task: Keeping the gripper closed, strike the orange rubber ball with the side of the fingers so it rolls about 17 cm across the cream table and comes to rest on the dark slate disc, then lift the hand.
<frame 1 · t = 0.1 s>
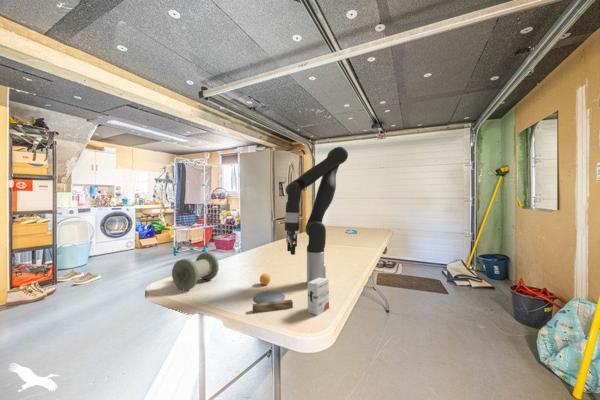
hand: (290, 252, 114), 17 cm above the table, tool pointing down, fingers open, 8 cm apart
spool: (196, 284, 117), on the table
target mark: (269, 297, 100), on the table
ball: (265, 279, 116), on the table
ink box: (318, 310, 89), on the table
brown square bar: (272, 309, 89), on the table
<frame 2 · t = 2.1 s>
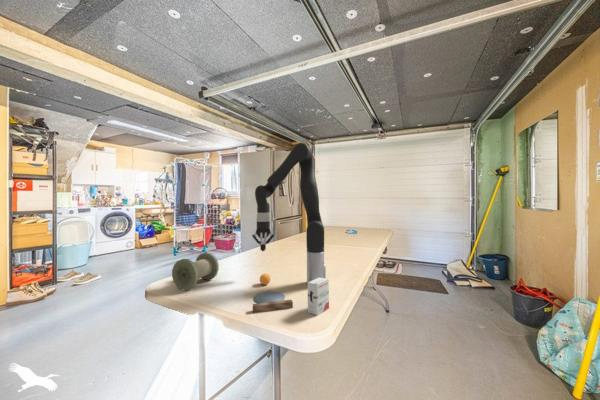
hand: (263, 250, 126), 16 cm above the table, tool pointing down, fingers closed
nothing on the table moved.
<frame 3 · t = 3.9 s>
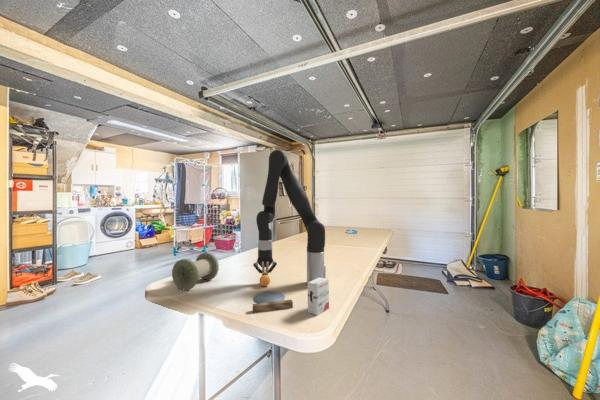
hand: (265, 280, 118), 1 cm above the table, tool pointing down, fingers closed
ball: (264, 280, 114), on the table, touching gripper
everything else where it was.
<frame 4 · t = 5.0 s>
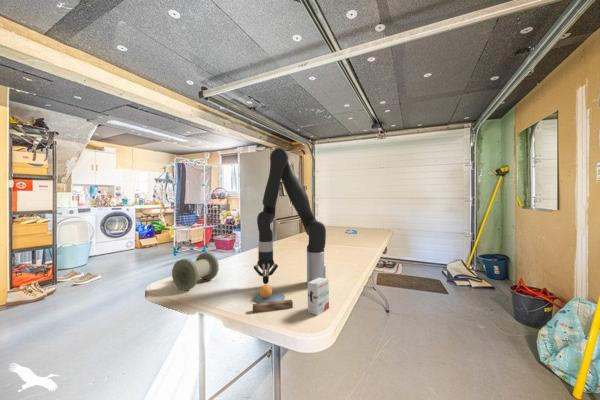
hand: (265, 283, 114), 1 cm above the table, tool pointing down, fingers closed
ball: (265, 291, 100), on the table
everything else where it was.
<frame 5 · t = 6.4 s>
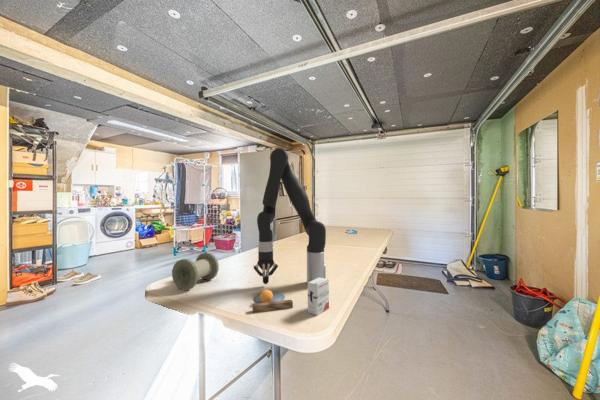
hand: (265, 283, 114), 1 cm above the table, tool pointing down, fingers closed
ball: (266, 296, 95), on the table
everything else where it was.
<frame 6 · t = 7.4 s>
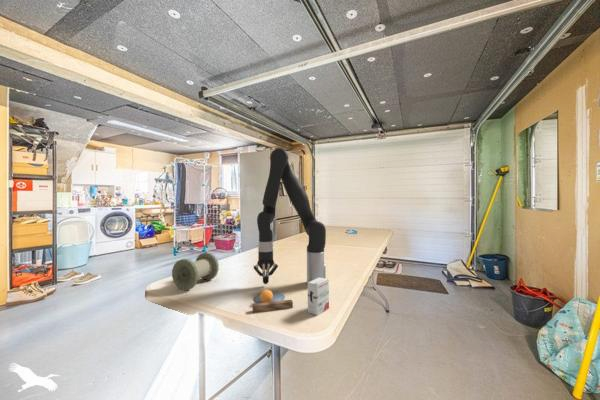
hand: (265, 283, 114), 1 cm above the table, tool pointing down, fingers closed
nothing on the table moved.
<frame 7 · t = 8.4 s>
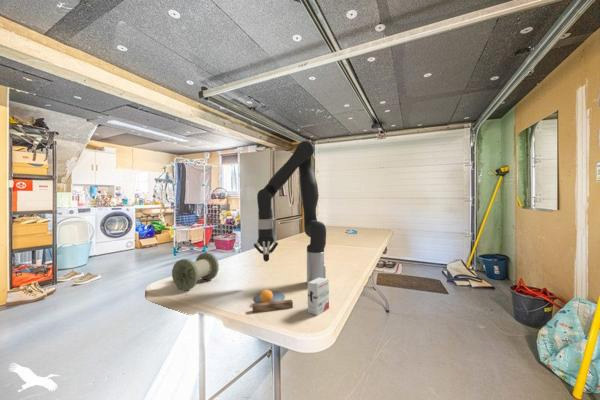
hand: (266, 261, 114), 13 cm above the table, tool pointing down, fingers closed
nothing on the table moved.
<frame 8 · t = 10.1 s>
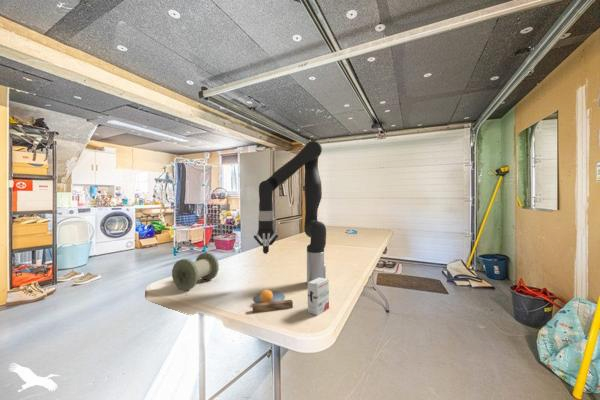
hand: (265, 253, 114), 17 cm above the table, tool pointing down, fingers closed
nothing on the table moved.
at the end: ball 5.3 cm from the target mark (horizontally); ball at rest at the end (0.0 cm/s); ball moved 22.1 cm from its start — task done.
